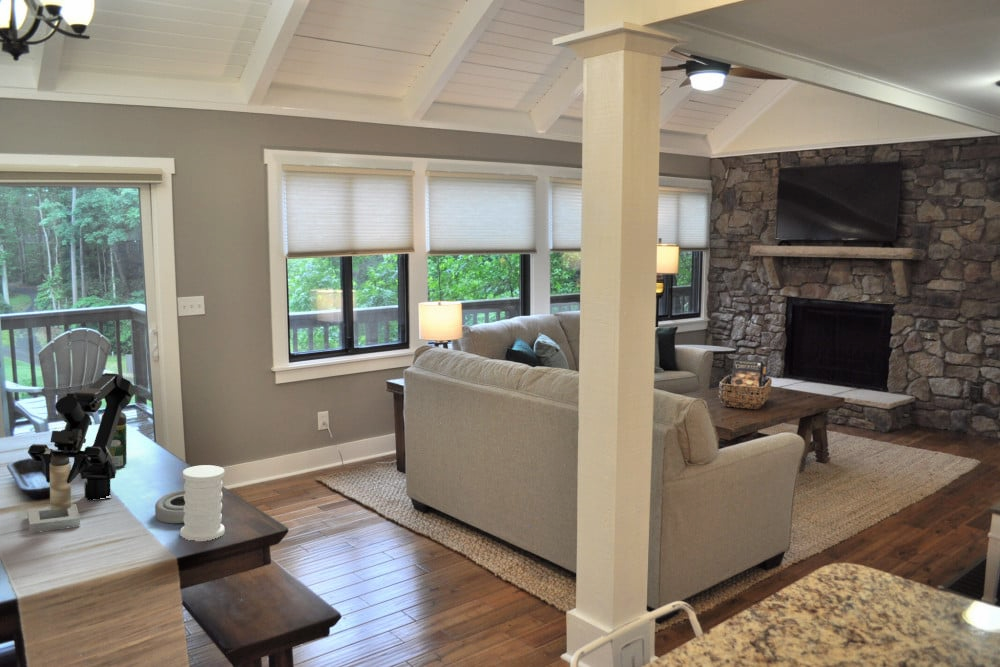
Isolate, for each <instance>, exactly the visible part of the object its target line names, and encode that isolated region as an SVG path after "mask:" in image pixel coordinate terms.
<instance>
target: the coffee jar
mask: <svg viewBox="0 0 1000 667" xmlns="http://www.w3.org/2000/svg"><path fill="white" fill-rule="evenodd" d="M102 417H103V414H102V415H101V419H100V421H101V420H102ZM109 451H110V454H111V456H112V463H113V464H114V466H115V467H116V469H118V468H121V467H125V466H126V465H127V462H128V461H127V460H128V459H127V452H128V451H127V415H126V413H125V412H122V411H121V414H120V418H119V421H118V424H117V427H116V431H115V434H114V437H113V440H112V443H111V447H110V450H109Z"/></svg>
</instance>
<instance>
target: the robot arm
mask: <svg viewBox="0 0 1000 667" xmlns="http://www.w3.org/2000/svg"><path fill="white" fill-rule="evenodd" d="M135 388H136V387H135V385H133V383H132V381H130V380H128V379H126V378H124V377H123V376H122V375H121V374H119V373H112V372H111V373H109V372H105V373H102V374H101V375H100V378H98V380H96V381H95V382H94V383H93V384H91V385H90V386H89V387H87V388H85V389H84V388H83V389H79V390H77V391H74V393H73V392H68V393H66V396H62V397H61V398H59V399H58V400H57V401H56V402H55V406H54V408H55V410H56V412H57V414H58V415H59V416H60V418H61V419H62V421H63V422H64V423H66V424H65V426H64V429H61V430H52V431H51V437H50V441H49V442H50V443H54V445H53V446H54V447H55V448H57V449H52V448H49V447H48V445H47V444H39V443H37V444H36V443H33V444H31V445H30V446H29V447H28V450H27V453H28V455H29V456H30V458H31V459H32V460H33V461H34V462H37V463H44V465H45V479H46V483H47V484H50V463H51V458H52V457H55V456H68V457H69V458H73V464H72V466H71V471H70V474H69V476H68V480H67V483H71V484H72V482H73V480H75V478H77V476H79V475H80V476H79V477H80V479H81V480H84V479H85V480H86V481H85V482H84V483H83V484H84V489H83V490H84V493H83V494H84V497H85V498H86V500H87V501H88V500H92V501H94V500H93V499H100V498H106V496H109V495H111V480H112V479H115V478H116V474H117V468H116V467H115V466H114V464H113V463H112V456H111V454H110V451H109V450H110V447H111V443H112V440H113V437H114V434H115V431H116V427H117V424H118V421H119V418H120V414H121V412H122V411H123V410H124V409H125V408H126V407H127V406H129V405H130V403H131V401H132V399H133V397H134V396H135V391H136V389H135ZM103 399H104V401H105V408H104V410H103V414H102V415H103V417H102V416H101V418H102V420H101V419H100V423H99V426H98V429H97V433H96V435H95V438H94V441H93V444H92V446H87V445H86V446H85V448H84V450H82V447H83V446H84V445H83V444H86V441H87V439H86V435H87V433H88V430H89V426H92V425H93V421H92V418H91V416H90V415H89V414H88V413H93V414H94V413H97V412H98V411H99V409H101V407H102V404H103V401H102V400H103ZM111 496H112V495H111Z"/></svg>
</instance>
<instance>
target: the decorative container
mask: <svg viewBox="0 0 1000 667" xmlns="http://www.w3.org/2000/svg"><path fill="white" fill-rule="evenodd" d="M225 474H226V473H225V468H223V467H221V466H217V465H212V464H207V465H206V464H202V465H201V464H199V465H194V466H190V467H187V468H185V469H183V470H182V478H183V480H185V482H184V484H183V490H184V489H185V494H184V501H185V505H184V512H185V516H184V519H183V521H184V526H182V527H181V528H180V532H179V534H180V537H181V536H182V537H183V538H185V539H184V540H186V539H188V540H187V541H190V540H195V541H194V542H207V540H208V541H212V539H213V540H216V539H218V537H219V538H221V537H222V536H224V535H225V532H226V529H225V525H224V524H223V523H221V522H222V520H223V515H222V511H223V502H222V503H221V499H222V500H223V496H224V495H223V491H222V489H223V486H224V483H223V480H222V479H223V478H224V477H225ZM220 536H221V537H220ZM182 537H181V538H182ZM183 538H182V539H183ZM215 538H216V539H215Z"/></svg>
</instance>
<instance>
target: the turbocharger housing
mask: <svg viewBox="0 0 1000 667" xmlns="http://www.w3.org/2000/svg"><path fill="white" fill-rule="evenodd" d="M184 494H185V489H184V488H183V489H179V490H175V491H172V492H170V493H167V494H165V495H163V496H162V497H160V498H159V499H158V500H156V503H155V506H154V512H155V514H154V515H155V518H156V519H157V520H158V521H160V522H162V523H166V524H182V523H184V521H183V519H184V516H185V512H184V505H185V501H184ZM221 503H222V504H223V498H222V499H221ZM184 524H185V523H184Z"/></svg>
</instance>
